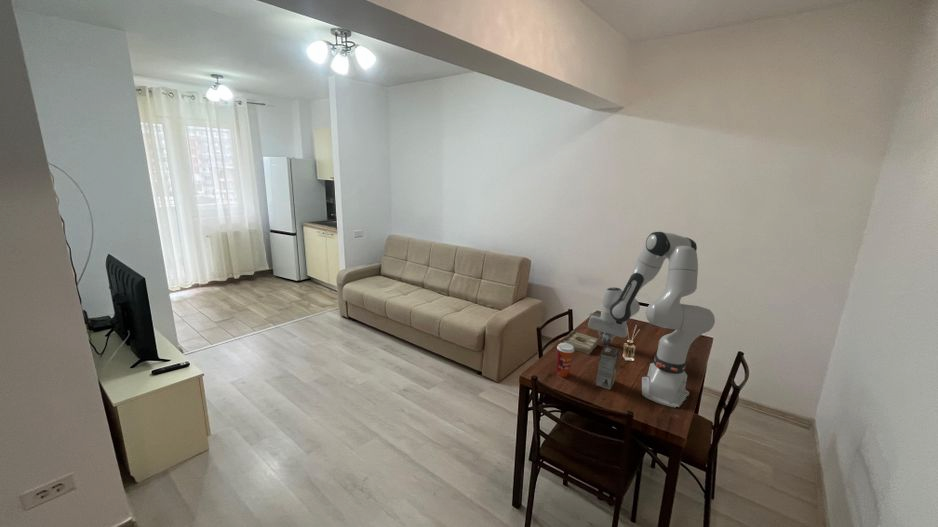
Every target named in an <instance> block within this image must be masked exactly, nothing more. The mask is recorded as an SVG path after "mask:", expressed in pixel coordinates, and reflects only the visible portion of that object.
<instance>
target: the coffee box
mask: <svg viewBox="0 0 938 527" xmlns="http://www.w3.org/2000/svg"><path fill="white" fill-rule="evenodd" d="M620 351H621V348H618V347H614V346H611V345H608V346H607V345H604V347H603V348H602V350H601V352H600V354H599V361H598V368H597V376H596V381H595V386H598V387H601V388H604V389H607V390H611V389H612V387H613V386H614V383H615V382H616V376H617V371H618V370H617V369H618V364H619V360H620V358H619V357H620Z"/></svg>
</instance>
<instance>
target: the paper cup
mask: <svg viewBox="0 0 938 527" xmlns="http://www.w3.org/2000/svg"><path fill="white" fill-rule="evenodd" d="M556 348H557V351H556V352H557V353H556V369H555V371H556V375H557V376H559V377H562V378H567V377H568V376H569V375H570V370H571V366H572V361H573V356H574V352H575V350H574V347H573V346H572V345H571V344H568V343H564V342H560V343H559V344H558V345H557V346H556Z"/></svg>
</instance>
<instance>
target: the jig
mask: <svg viewBox="0 0 938 527" xmlns="http://www.w3.org/2000/svg"><path fill="white" fill-rule="evenodd" d="M598 342H599V338H598V337H597V338H596V337H593V336H590V335H587V334H583V333H580V332H577V331H576V329H572V330H571V331H570V332H569V333H568V334H567V335H565V337H564V338H563V343H568V344H571V345H572V346H573V347H574V351H577V352H581V353H583V354H587V355H590V354H591V353H592V352H593V350H594V349H595V348H596V347H597V346H598Z"/></svg>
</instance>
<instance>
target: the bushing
mask: <svg viewBox="0 0 938 527" xmlns="http://www.w3.org/2000/svg"><path fill="white" fill-rule="evenodd" d="M601 335H602V339H600V340H601V342H600V344H601V345H603V346H605V345H608V346H610V342H609V338H611V334H608V333H604V332H602V334H601Z"/></svg>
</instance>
